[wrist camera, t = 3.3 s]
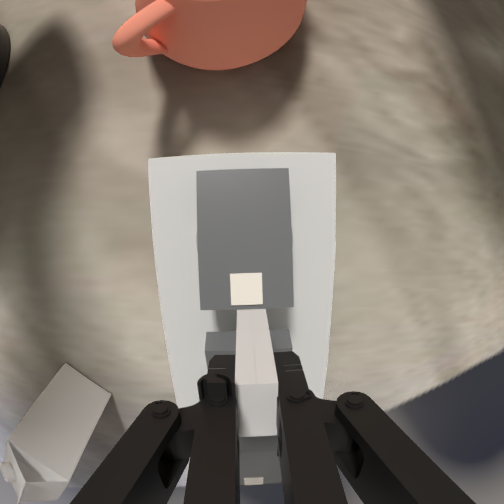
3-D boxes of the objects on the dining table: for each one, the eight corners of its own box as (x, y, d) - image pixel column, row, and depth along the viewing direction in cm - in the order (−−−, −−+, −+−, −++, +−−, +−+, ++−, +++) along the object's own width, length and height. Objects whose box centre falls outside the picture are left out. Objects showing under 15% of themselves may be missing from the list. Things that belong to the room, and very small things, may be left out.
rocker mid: (204, 327, 23) (201, 352, 21) (290, 324, 23) (295, 349, 21) (215, 398, 28) (214, 421, 25) (284, 395, 28) (287, 418, 25)
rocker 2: (216, 430, 26) (215, 454, 24) (286, 427, 26) (289, 451, 24) (224, 466, 30) (224, 486, 28) (281, 464, 30) (283, 483, 28)
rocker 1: (198, 179, 23) (193, 170, 20) (286, 176, 23) (291, 167, 20) (202, 304, 23) (197, 310, 20) (291, 300, 23) (297, 307, 20)
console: (165, 161, 28) (144, 158, 21) (323, 156, 29) (347, 152, 22) (197, 439, 36) (192, 479, 30) (309, 435, 37) (318, 473, 30)
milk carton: (112, 393, 34) (57, 511, 16) (95, 420, 36) (46, 525, 17) (65, 361, 33) (-12, 465, 15) (52, 391, 34) (-12, 486, 16)
